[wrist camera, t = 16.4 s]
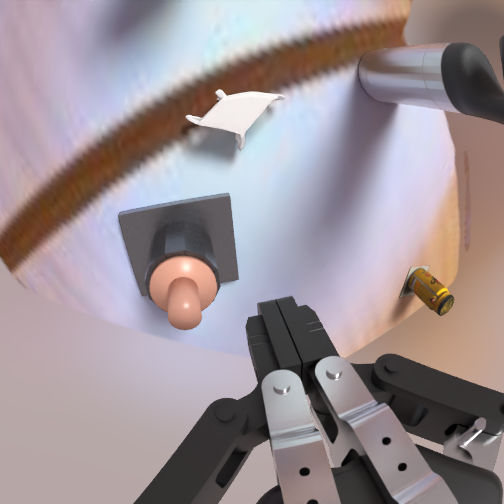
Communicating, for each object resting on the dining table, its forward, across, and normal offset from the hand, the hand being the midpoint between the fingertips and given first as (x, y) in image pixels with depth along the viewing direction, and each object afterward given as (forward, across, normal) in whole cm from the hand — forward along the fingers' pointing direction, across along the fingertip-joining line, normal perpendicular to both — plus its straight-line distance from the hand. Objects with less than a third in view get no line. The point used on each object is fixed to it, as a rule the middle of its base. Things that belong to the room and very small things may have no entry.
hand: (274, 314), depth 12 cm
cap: (+22, +7, +11) cm, 25 cm away
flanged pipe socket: (+30, +7, +11) cm, 32 cm away
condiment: (+32, -42, +31) cm, 61 cm away
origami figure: (+31, -4, -7) cm, 32 cm away
